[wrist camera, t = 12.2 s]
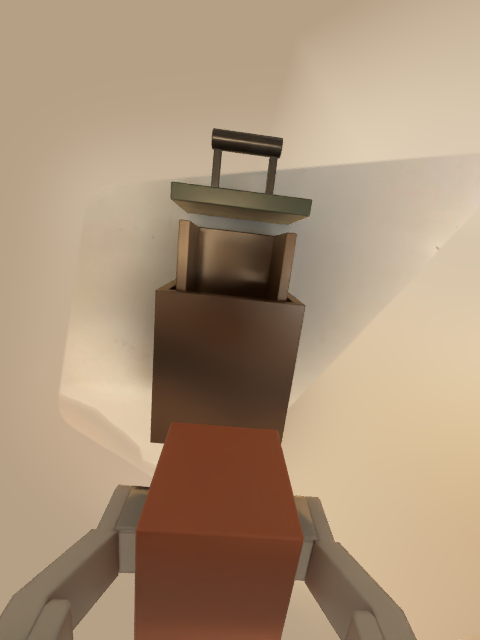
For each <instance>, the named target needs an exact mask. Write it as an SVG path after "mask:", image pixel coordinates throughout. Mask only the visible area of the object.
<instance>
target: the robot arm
mask: <svg viewBox="0 0 480 640" xmlns="http://www.w3.org/2000/svg"><path fill="white" fill-rule="evenodd" d="M149 488H150V487H142V486H129V485H118V486H117V488H116V489H115V491H114V493H113V495H112V497H111V500H110V502H109V504H108V506H107V508H106V510H105V512H104V514H103V516H102V519H101V521H100V523H99V525H98V527H97V529H92V530H90V531H89V532H88V533H87V534H86V535H85V536H83V537H82V538H81V539H80V540H79V541H77V543H75V544H74V545H73V546H72V547H70V548H69V549H68V550H67V551H65V553H63V554H62V555H61V556H60V557H58V558H57V559H56V560H55V561H54V562H52V563H51V564H50V565H49V566H48V567H46V568H45V569H44V570H43V571H42V572H41V573H39V574H38V575H37V576H36V577H35V578H33V579H32V580H31V581H30V582H29V583H27V584H26V585H25V586H24V587H23V588H21V589H20V590H19V591H18V592H17V593H15V594H14V595H13V596H12V598H11V600H10V601H9V603H8V604H7V606H6V608H5V609H4V611H3V613H2V614H1V616H0V640H73V630H74V628H75V627H76V626H77V625H78V624H79V622H80V621H81V620H82V619H83V618H84V616H85V615H86V614H87V612H88V611H89V610H90V609H91V608H92V607H93V605H94V604H95V603H96V602H97V600H98V599H99V598H100V597H101V596H102V594H103V593H104V592H105V591H106V589H107V588H108V587H109V586H110V584H111V583H112V582H113V581H114V580H115V578H116V577H117V576H118V573H135V537H136V527H137V524H138V521H139V518H140V515H141V512H142V509H143V506H144V503H145V500H146V497H147V494H148V491H149ZM294 500H295V504H296V508H297V512H298V516H299V520H300V524H301V528H302V532H303V536H304V542H303V546H302V550H301V555H300V559H299V563H298V567H297V572H296V576H295V580H302V581H305V583H306V585H307V587H308V588H309V590H310V592H311V593H312V595H313V596H314V598H315V599H316V601H317V602H318V604H319V606H320V607H321V609H322V611H323V612H324V614H325V615H326V617H327V619H328V620H329V622H330V623H331V625H332V626H333V628H334V630H335V631H336V633H337V634H338V636H339V638H340V639H341V640H417V639H416V637H415V635H414V633H413V631H412V629H411V627H410V624H409V622H408V620H407V618H406V616H405V614H404V612H403V610H402V609H401V608H400V607H399V606H398V605H397V604H396V603H395V602H394V601H393V599H392V598H391V597H390V596H389V595H388V594H387V593H386V592H385V591H384V590H383V589H382V588H381V587H380V586H379V585H378V583H377V582H376V581H375V580H374V579H373V578H372V577H371V576H370V575H369V574H368V573H367V572H366V571H365V570H364V569H363V567H362V566H360V564H359V563H358V562H357V561H356V560H355V559H354V558H353V557H352V556H351V555H350V554H349V553H348V551H347V550H346V549H345V548H344V547H343V546H342V545H341V544H340V543H339V542H335V541H334V538H333V535H332V533H331V530H330V527H329V524H328V521H327V519H326V516H325V513H324V510H323V507H322V504H321V502H320V499H319V498H318V497H304V496H294Z"/></svg>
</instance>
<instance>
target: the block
mask: <svg viewBox="0 0 480 640" xmlns="http://www.w3.org/2000/svg"><path fill="white" fill-rule="evenodd" d="M303 542H304V536H303V532H302V528H301V524H300V520H299V516H298V512H297V508H296V504H295V500H294V496H293V492H292V487H291V484H290V480H289V475H288V472H287V467H286V463H285V459H284V455H283V451H282V447H281V443H280V439H279V435H278V431H277V430H271V429H258V428H245V427H232V426H218V425H205V424H192V423H179V422H172V423H171V425H170V428H169V431H168V434H167V437H166V440H165V443H164V446H163V449H162V452H161V455H160V458H159V461H158V464H157V467H156V470H155V473H154V476H153V479H152V482H151V485H150V488H149V491H148V494H147V497H146V500H145V503H144V506H143V509H142V512H141V515H140V518H139V521H138V524H137V527H136V537H135V616H134V617H135V618H134V620H135V621H134V640H281V636H282V631H283V627H284V623H285V619H286V614H287V610H288V606H289V602H290V597H291V593H292V589H293V585H294V580H295V576H296V572H297V567H298V563H299V559H300V555H301V550H302V546H303Z"/></svg>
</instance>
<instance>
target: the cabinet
mask: <svg viewBox="0 0 480 640" xmlns="http://www.w3.org/2000/svg"><path fill="white" fill-rule="evenodd" d="M304 311H305V305H304V304H303V303H301V302H300V301H299V300H297V299H296V298H295V297H293V296H292V295H291V294H290V293H288V294H287V300H286V302H283V301H273V300H264V299H254V298H245V297H235V296H225V295H216V294H206V293H197V292H187V291H178V290H176V279H175V280H173V281H171V282H169V283H168V284H166V285H164V286H162V287H160V288H159V289H157V290H156V297H155V325H154V354H153V383H152V412H151V441H150V442H152V443H165V440H166V437H167V434H168V431H169V428H170V425H171V423H172V422H179V423H192V424H205V425H218V426H232V427H245V428H258V429H271V430H277V431H278V435H279V439H280V443H281V442H282V437H283V431H284V425H285V419H286V414H287V408H288V402H289V397H290V391H291V385H292V380H293V374H294V368H295V363H296V357H297V351H298V345H299V340H300V334H301V328H302V323H303V317H304Z"/></svg>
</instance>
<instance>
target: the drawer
mask: <svg viewBox="0 0 480 640" xmlns="http://www.w3.org/2000/svg"><path fill="white" fill-rule="evenodd" d="M282 145H283V138H278V137H271V136H264V135H257V134H250V133H243V132H236V131H229V130H222V129H215V128H214V129H213V132H212V149H214V157H213V169H212V182H211V187H210V186H202V185H194V184H187V183H179V182H171V200H173V201H174V202H175V203H176V204H178V205H179V206H180V207H181V208H182V209H184V210H185V211H186V212H187V213H195V214H203V215H211V216H220V217H228V218H236V219H244V220H252V221H260V222H269V223H277V224H285V225H289V224H291V223H294V222H296V221H299V220H301V219H304V218H306V217H309V216H310V210H311V204H312V200H311V199H303V198H296V197H288V196H280V195H273V190H274V182H275V174H276V167H277V159H278V158H280V155H281V151H282ZM222 151H228V152H235V153H243V154H250V155H257V156H265V157H270V159H269V167H268V175H267V183H266V191H265V194H264V193H257V192H249V191H241V190H233V189H226V188H219V180H220V168H221V155H222ZM296 237H297V234H296V233H284V234H281V235H277V236H269V235H261V234H253V233H244V232H236V231H228V230H219V229H211V228H202V227H198V226H197V225H195V224H194V223H192V222H191V221H188V220H179V239H178V258H177V277H176V290H178V291H187V292H197V293H206V294H216V295H225V296H235V297H245V298H254V299H264V300H273V301H283V302H286V300H287V294H288V288H289V281H290V275H291V268H292V262H293V256H294V249H295V243H296Z"/></svg>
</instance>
